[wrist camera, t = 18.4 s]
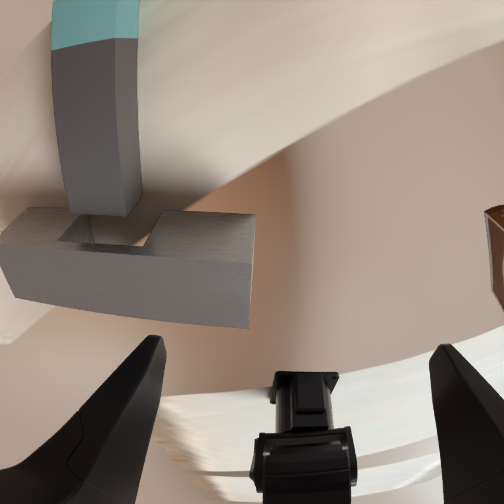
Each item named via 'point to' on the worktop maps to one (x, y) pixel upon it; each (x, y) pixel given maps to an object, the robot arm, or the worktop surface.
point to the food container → (496, 250)
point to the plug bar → (97, 103)
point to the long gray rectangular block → (136, 266)
